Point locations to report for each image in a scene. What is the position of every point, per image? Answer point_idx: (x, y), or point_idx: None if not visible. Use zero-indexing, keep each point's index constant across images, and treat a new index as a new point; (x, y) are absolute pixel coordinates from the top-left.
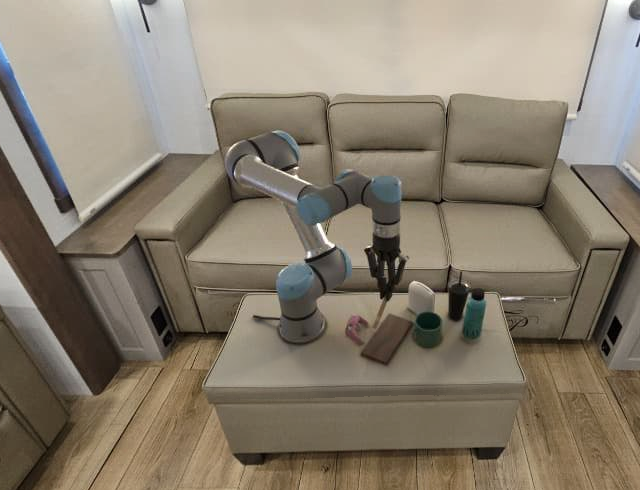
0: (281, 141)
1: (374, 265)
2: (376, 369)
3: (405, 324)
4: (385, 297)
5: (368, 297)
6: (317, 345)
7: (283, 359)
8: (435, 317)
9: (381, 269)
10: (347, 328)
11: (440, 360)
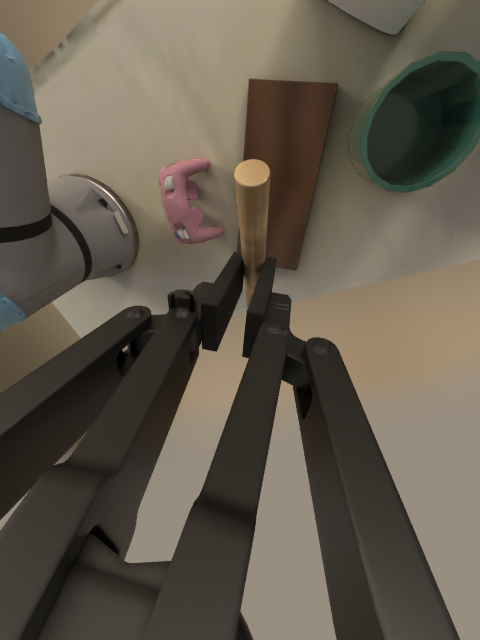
0: None
1: (92, 399)
2: (280, 283)
3: (315, 112)
4: (251, 281)
5: (145, 5)
6: (151, 262)
7: (129, 304)
8: (453, 68)
9: (168, 425)
10: (178, 236)
11: (434, 214)
